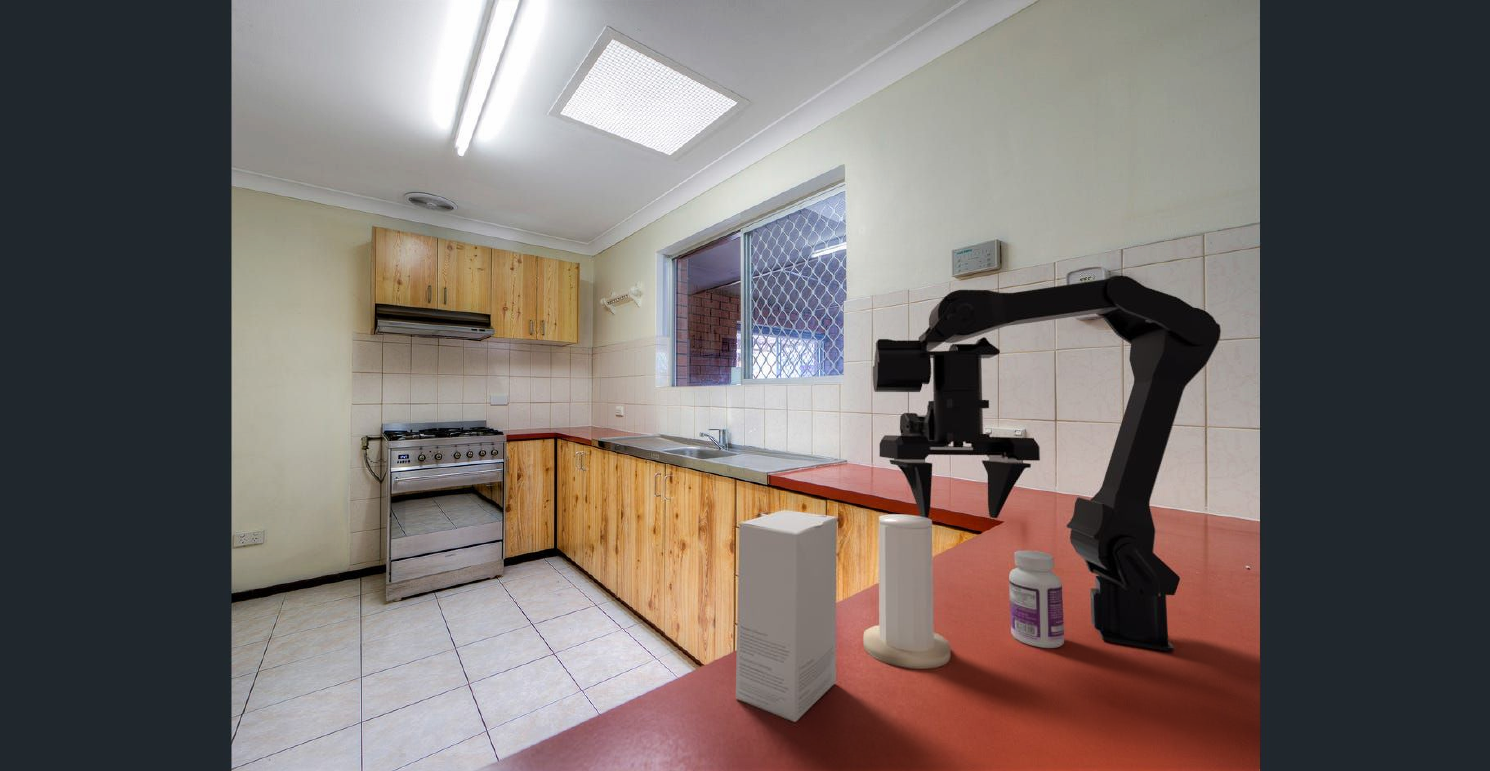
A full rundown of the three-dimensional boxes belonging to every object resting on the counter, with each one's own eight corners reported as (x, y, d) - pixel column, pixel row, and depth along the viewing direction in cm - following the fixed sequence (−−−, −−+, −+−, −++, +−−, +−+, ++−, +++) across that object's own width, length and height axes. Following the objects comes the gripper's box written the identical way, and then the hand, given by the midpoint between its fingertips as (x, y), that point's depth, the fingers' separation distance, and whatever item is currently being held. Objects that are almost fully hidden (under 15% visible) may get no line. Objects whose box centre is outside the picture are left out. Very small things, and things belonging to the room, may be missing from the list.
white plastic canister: (943, 641, 56) (941, 519, 57) (916, 655, 52) (915, 525, 53) (897, 625, 60) (896, 512, 61) (869, 638, 56) (869, 517, 57)
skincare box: (781, 665, 52) (782, 508, 53) (841, 685, 48) (842, 515, 49) (731, 700, 45) (734, 519, 46) (797, 727, 41) (799, 529, 42)
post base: (953, 642, 58) (952, 605, 58) (946, 676, 50) (945, 633, 50) (873, 627, 62) (873, 593, 62) (854, 656, 54) (854, 617, 54)
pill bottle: (1050, 631, 61) (1047, 549, 62) (1073, 650, 56) (1070, 560, 57) (1002, 629, 62) (1000, 547, 63) (1022, 648, 57) (1019, 558, 57)
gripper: (985, 397, 74) (987, 507, 73) (862, 394, 71) (863, 508, 70) (1041, 393, 63) (1045, 521, 62) (898, 388, 60) (899, 523, 59)
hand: (959, 518), depth 63 cm, fingers open, 9 cm apart
